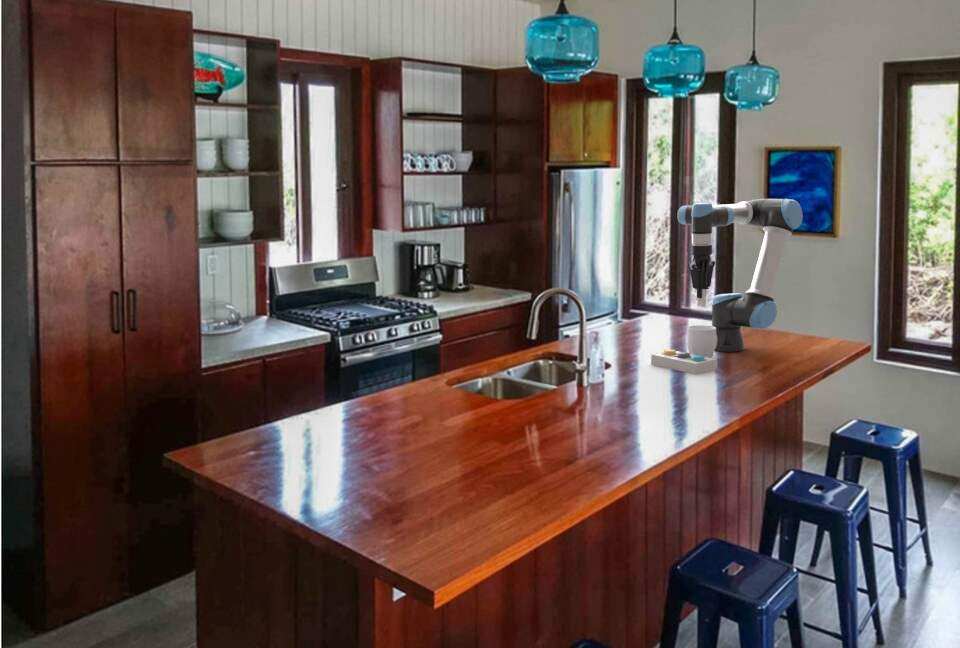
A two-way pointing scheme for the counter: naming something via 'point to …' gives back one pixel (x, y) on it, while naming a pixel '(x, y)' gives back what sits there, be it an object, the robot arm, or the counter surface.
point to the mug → (702, 340)
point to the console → (683, 363)
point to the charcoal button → (683, 355)
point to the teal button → (698, 358)
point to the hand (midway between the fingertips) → (701, 306)
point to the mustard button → (669, 352)
